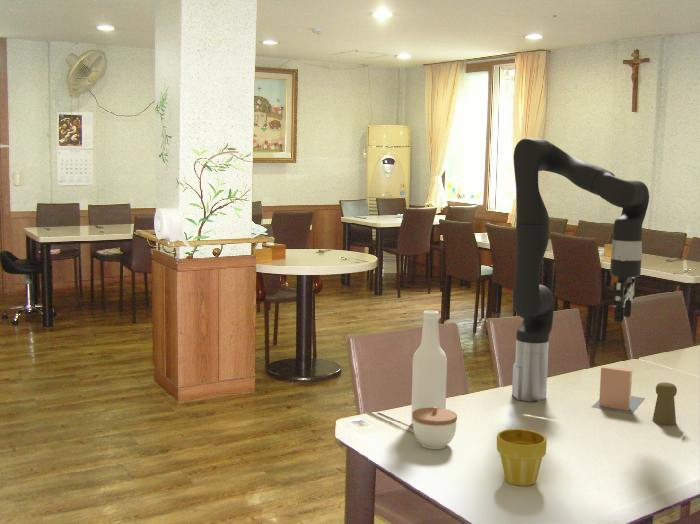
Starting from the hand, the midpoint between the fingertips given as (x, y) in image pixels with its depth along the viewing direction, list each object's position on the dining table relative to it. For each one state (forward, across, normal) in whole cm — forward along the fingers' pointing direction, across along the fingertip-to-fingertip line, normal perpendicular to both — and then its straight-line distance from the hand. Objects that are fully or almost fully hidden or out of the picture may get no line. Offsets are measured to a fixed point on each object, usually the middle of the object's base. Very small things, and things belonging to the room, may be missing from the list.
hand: (622, 319), depth 204 cm
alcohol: (+28, +30, -41) cm, 58 cm away
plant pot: (+28, +52, -8) cm, 60 cm away
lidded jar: (+28, +43, -33) cm, 61 cm away
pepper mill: (+28, -6, +11) cm, 31 cm away
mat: (+28, -17, -3) cm, 33 cm away
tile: (+27, -12, -3) cm, 30 cm away
